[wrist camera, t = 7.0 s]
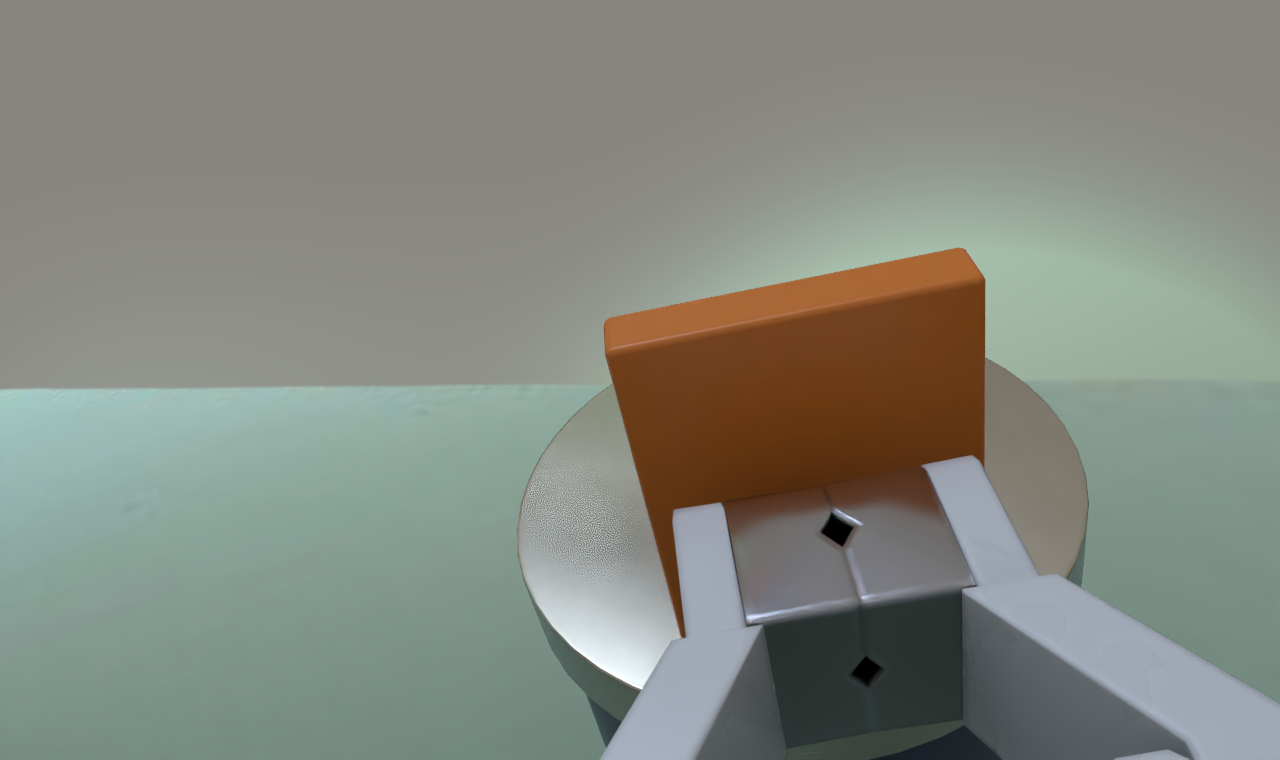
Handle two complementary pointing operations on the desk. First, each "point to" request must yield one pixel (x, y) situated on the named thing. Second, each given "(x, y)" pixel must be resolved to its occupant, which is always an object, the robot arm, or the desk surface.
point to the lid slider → (800, 385)
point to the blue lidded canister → (635, 584)
